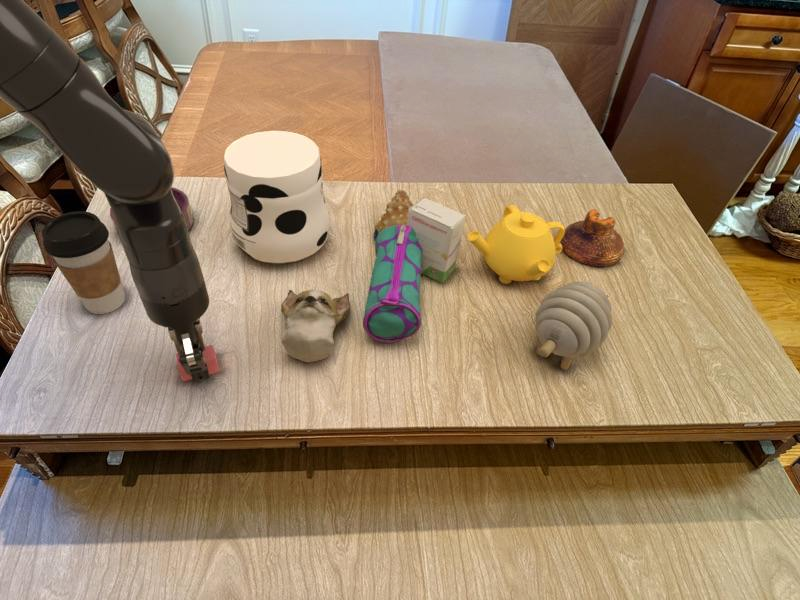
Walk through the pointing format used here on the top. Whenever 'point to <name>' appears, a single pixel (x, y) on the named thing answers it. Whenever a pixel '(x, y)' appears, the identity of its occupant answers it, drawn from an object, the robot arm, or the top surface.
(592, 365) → the top surface
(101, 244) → the coffee cup
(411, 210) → the ink box
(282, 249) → the milk container
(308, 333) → the ceramic sculpture
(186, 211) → the bowl
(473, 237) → the teapot
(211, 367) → the eraser
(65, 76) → the robot arm
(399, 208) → the seashell
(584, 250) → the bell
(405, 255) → the pencil case
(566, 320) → the toy sheep
